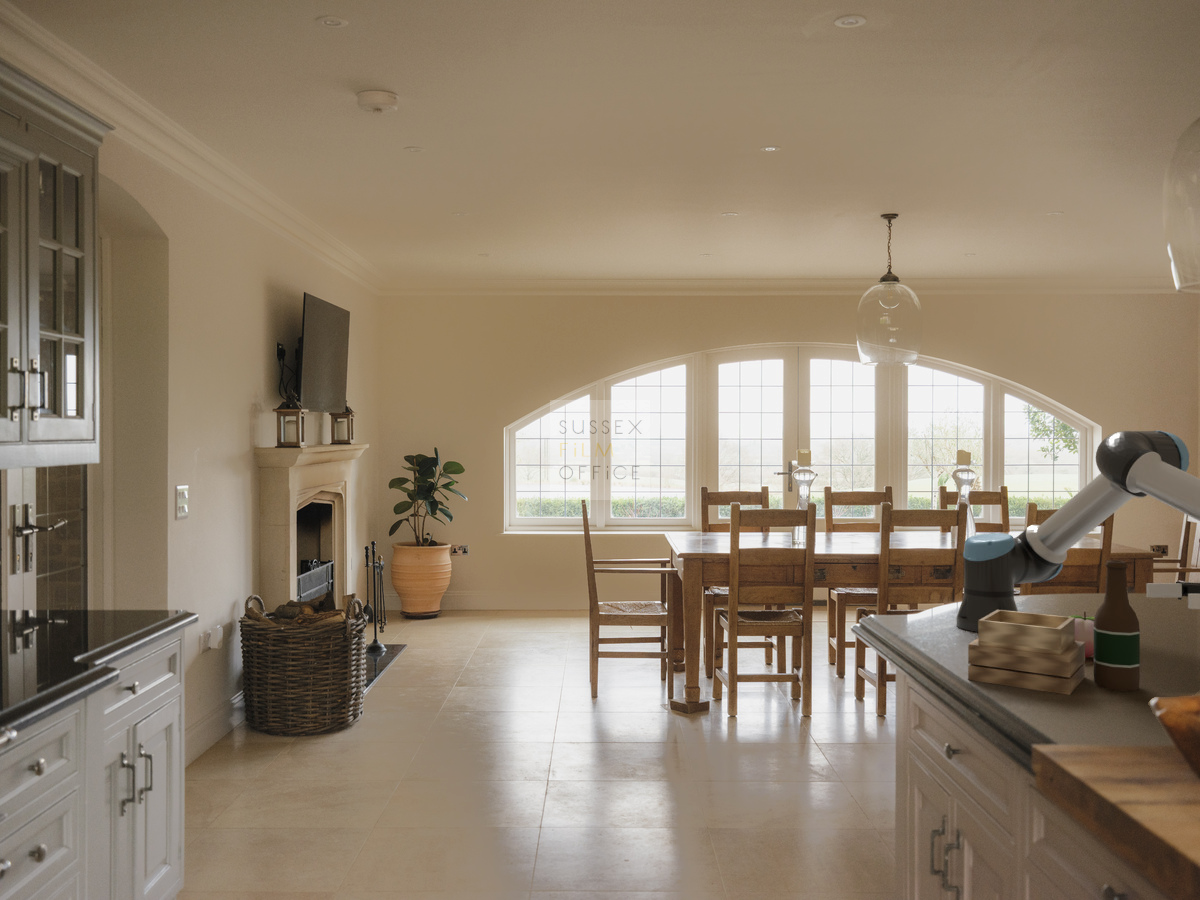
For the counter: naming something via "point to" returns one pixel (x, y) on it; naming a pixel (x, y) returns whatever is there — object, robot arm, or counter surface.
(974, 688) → the counter surface
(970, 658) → the base crate
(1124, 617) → the beer bottle
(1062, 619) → the top crate
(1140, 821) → the counter surface
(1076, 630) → the decorative fruit
